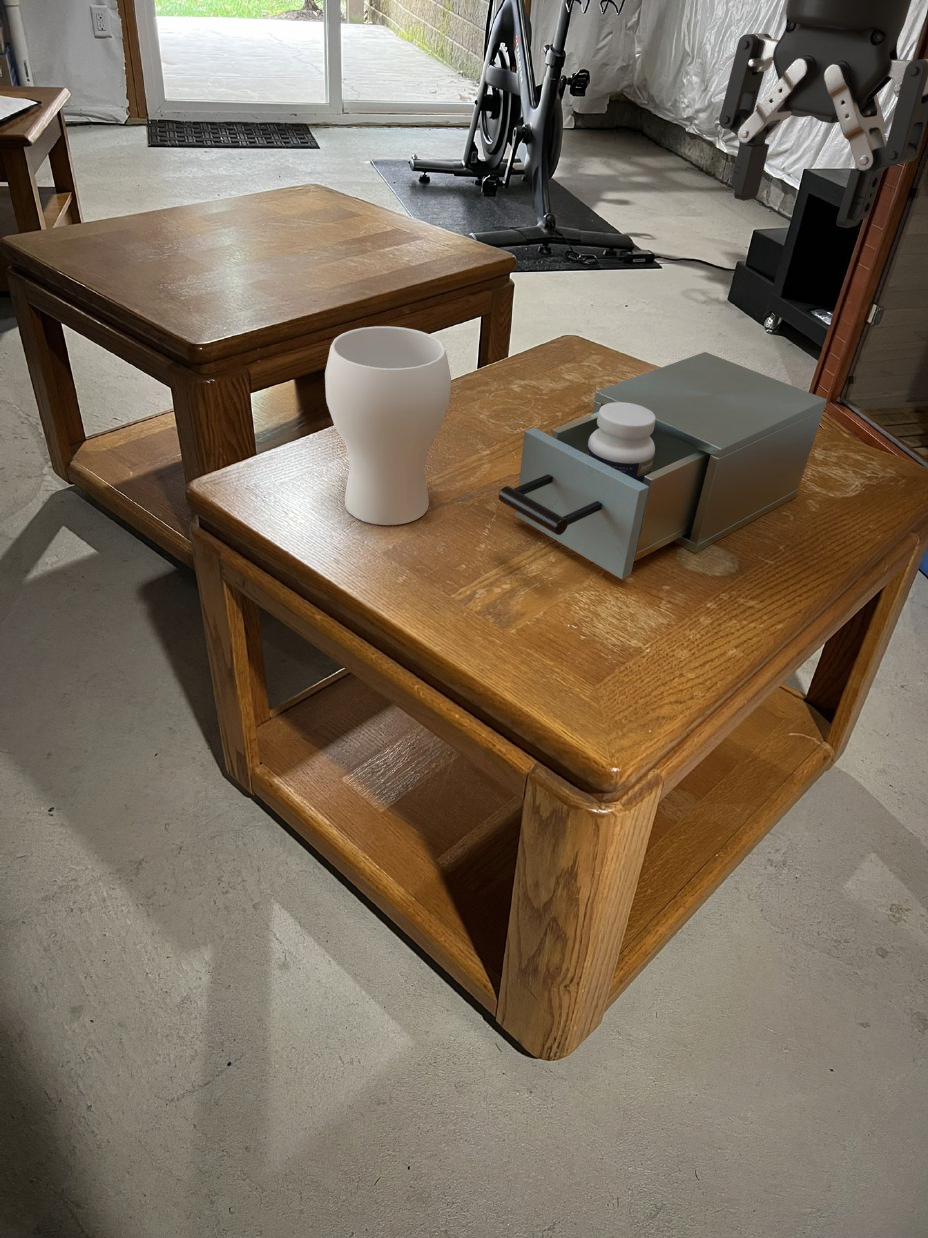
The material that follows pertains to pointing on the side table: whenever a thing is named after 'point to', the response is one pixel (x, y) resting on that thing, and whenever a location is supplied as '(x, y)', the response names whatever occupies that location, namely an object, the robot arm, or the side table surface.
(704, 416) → the drawer cabinet
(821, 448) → the side table surface
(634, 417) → the pill bottle
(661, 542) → the drawer
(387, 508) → the cup
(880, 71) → the robot arm
